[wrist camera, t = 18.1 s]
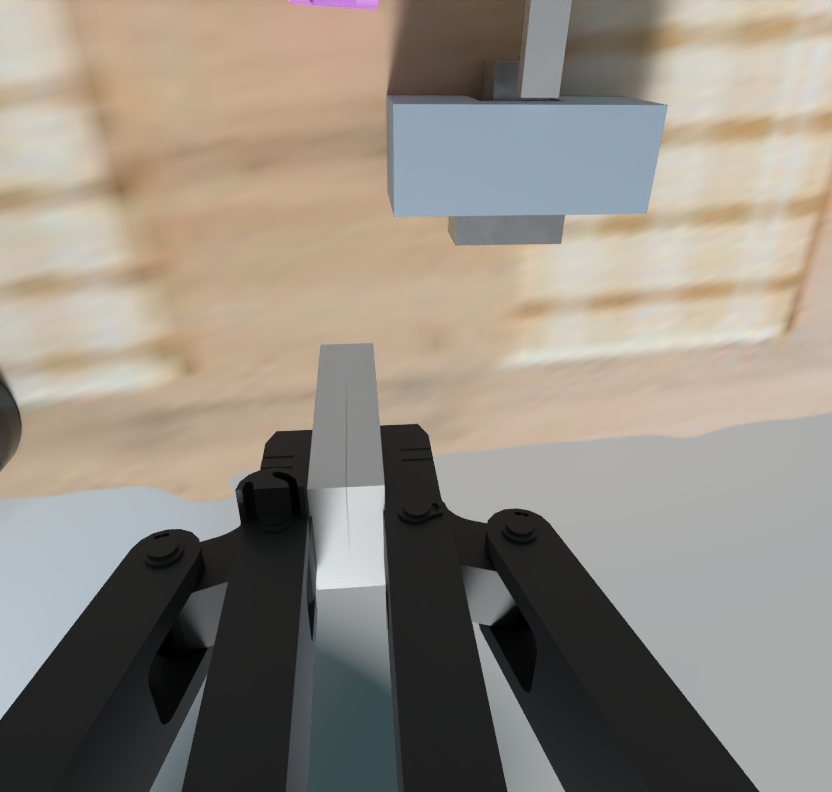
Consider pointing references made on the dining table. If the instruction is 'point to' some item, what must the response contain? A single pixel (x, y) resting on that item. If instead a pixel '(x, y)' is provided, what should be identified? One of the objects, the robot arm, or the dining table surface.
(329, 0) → the bracket
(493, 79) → the gray block
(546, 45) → the latch bar
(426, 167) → the hitch block
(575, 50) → the dining table surface
